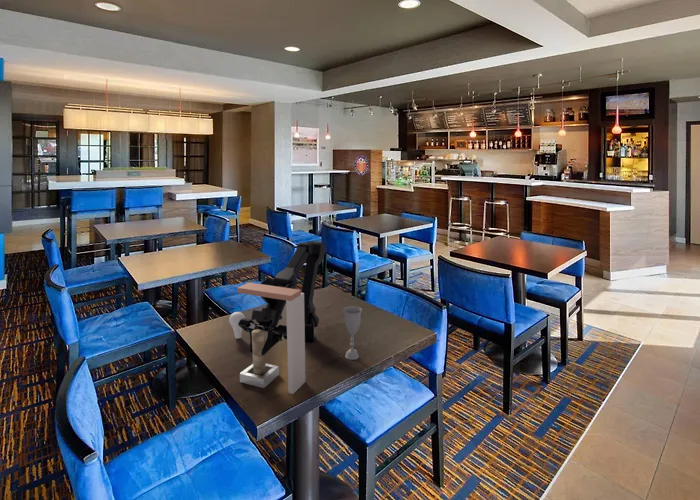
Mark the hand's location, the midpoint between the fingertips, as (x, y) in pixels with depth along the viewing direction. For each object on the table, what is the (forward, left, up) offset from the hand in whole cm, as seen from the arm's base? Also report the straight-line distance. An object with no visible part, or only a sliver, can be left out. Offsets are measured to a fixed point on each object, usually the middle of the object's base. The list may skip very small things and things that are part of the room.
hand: (256, 353), depth 137 cm
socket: (-1, -1, -9) cm, 9 cm away
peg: (-1, -1, -7) cm, 7 cm away
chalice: (-31, -17, -9) cm, 36 cm away
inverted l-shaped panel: (-5, +1, -9) cm, 11 cm away
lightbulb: (+14, -31, -9) cm, 36 cm away
